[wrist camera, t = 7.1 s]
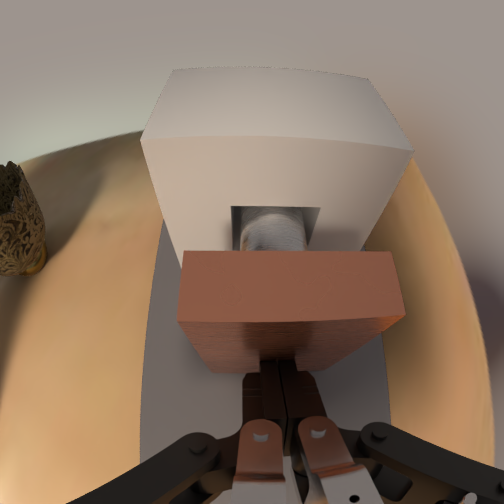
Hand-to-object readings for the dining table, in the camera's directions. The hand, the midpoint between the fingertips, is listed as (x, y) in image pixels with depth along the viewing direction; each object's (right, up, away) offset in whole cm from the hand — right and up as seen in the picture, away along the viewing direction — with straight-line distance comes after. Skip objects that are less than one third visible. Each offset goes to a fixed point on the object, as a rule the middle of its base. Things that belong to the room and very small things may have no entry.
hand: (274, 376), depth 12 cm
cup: (-19, +5, +8) cm, 21 cm away
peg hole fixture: (0, 0, +6) cm, 6 cm away
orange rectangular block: (0, +4, +6) cm, 7 cm away
